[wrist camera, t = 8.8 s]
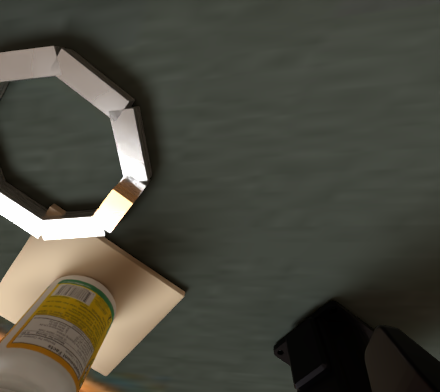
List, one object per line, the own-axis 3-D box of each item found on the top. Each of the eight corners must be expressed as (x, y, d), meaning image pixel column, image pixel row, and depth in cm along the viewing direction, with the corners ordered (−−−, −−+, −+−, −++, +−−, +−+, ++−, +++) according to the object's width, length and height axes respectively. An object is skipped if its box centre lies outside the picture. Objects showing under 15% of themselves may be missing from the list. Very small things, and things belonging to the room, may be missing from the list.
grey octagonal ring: (183, 138, 19) (177, 146, 17) (91, 257, 22) (76, 276, 20) (15, 4, 17) (-16, -5, 15) (-58, 160, 20) (-91, 170, 18)
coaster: (185, 292, 23) (184, 296, 23) (108, 371, 27) (106, 376, 26) (54, 203, 21) (50, 206, 21) (-11, 302, 25) (-16, 306, 24)
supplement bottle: (92, 262, 22) (-5, 393, 13) (131, 318, 24) (68, 466, 15) (32, 286, 23) (-97, 422, 14) (73, 338, 25) (-18, 488, 16)
